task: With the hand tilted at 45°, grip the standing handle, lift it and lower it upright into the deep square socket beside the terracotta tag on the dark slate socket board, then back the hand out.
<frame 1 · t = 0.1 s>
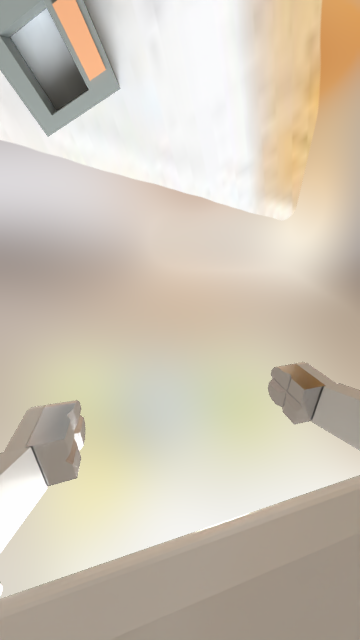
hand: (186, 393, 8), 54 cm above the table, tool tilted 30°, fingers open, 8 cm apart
socket board: (17, 1, 29), on the table
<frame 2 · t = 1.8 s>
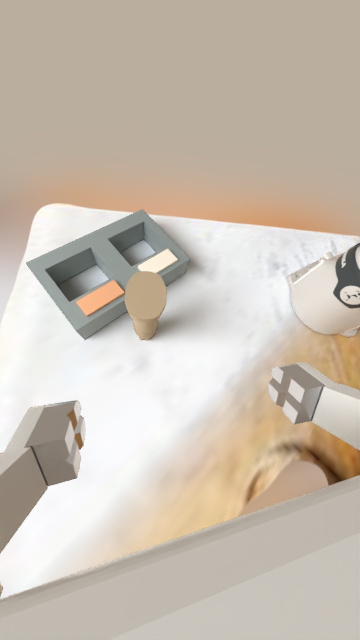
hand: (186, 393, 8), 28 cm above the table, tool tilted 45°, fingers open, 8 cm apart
handle: (145, 333, 38), on the table
socket board: (114, 272, 41), on the table
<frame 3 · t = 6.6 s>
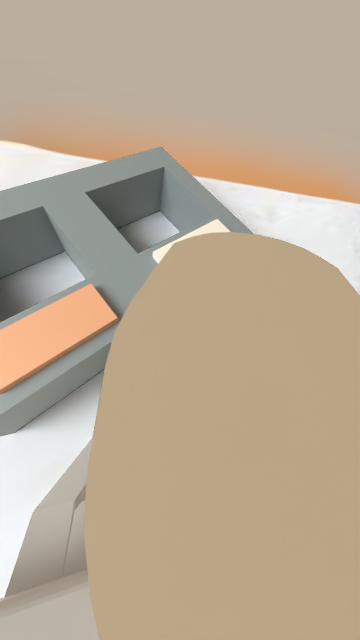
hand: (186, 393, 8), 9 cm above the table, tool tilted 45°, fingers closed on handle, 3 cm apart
handle: (164, 408, 16), on the table, touching gripper
socket board: (101, 269, 20), on the table
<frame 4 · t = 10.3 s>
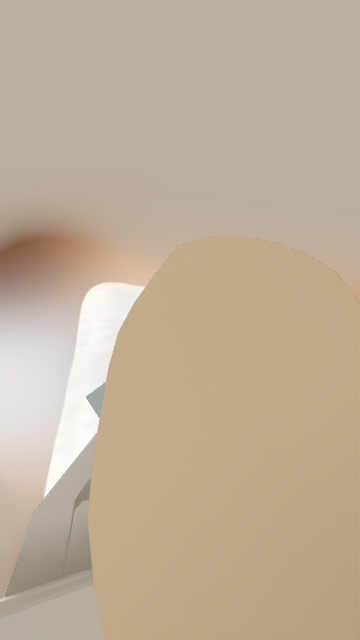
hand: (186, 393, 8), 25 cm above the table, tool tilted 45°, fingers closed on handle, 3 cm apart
handle: (164, 409, 16), point 15 cm above the table, touching gripper
socket board: (184, 380, 33), on the table
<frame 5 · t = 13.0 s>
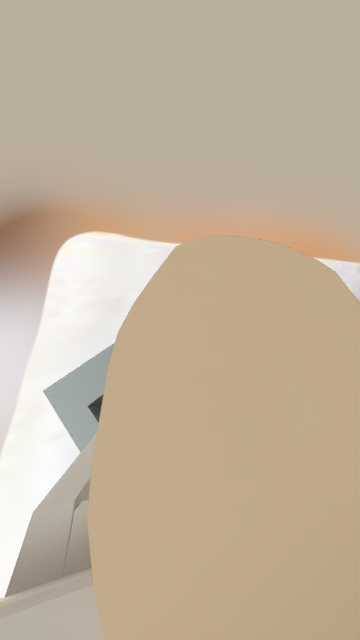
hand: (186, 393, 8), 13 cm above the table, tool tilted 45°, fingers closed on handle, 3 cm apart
handle: (164, 409, 16), point 3 cm above the table, touching gripper
socket board: (205, 368, 22), on the table
when the fingers open (10 cm above the table, at t = 14.3 s): handle moves 2 cm, resting in socket board.
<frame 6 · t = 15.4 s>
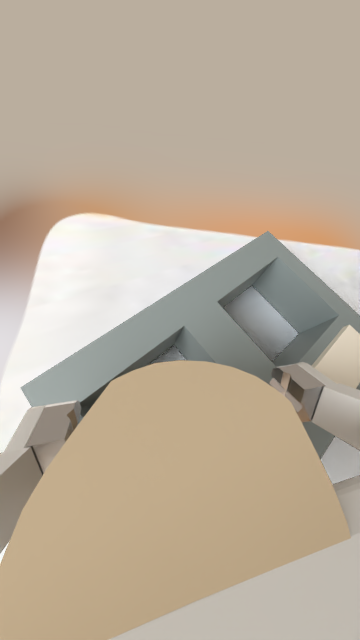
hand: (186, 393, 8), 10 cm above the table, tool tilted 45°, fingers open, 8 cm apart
handle: (149, 437, 16), resting in socket board
socket board: (212, 364, 19), on the table
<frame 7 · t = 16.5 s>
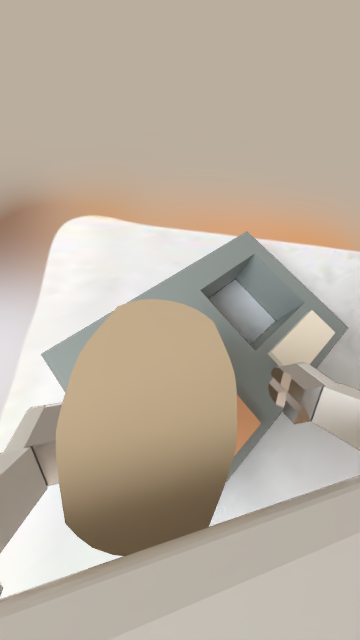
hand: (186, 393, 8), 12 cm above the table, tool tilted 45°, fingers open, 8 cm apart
handle: (143, 404, 19), resting in socket board, touching gripper
socket board: (198, 345, 23), on the table
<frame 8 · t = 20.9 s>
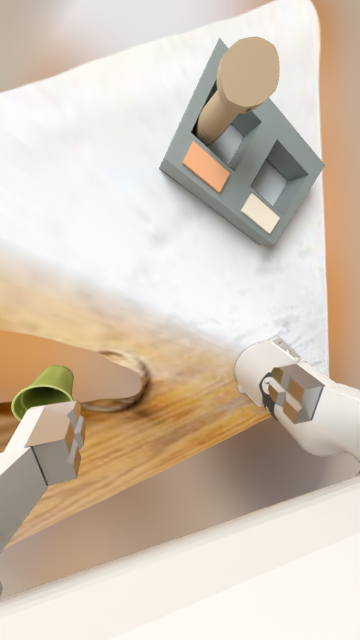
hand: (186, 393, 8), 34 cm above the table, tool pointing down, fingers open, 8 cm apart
handle: (199, 138, 34), resting in socket board
plant pot: (58, 375, 43), on the table
socket board: (239, 165, 37), on the table
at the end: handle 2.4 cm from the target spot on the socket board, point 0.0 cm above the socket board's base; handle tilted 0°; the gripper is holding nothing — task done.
